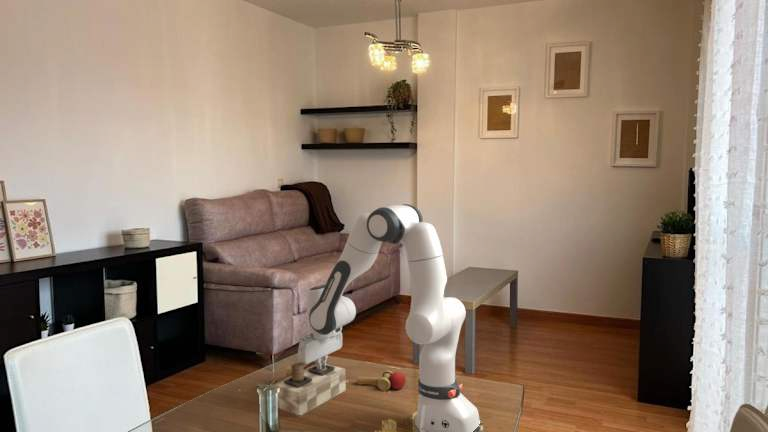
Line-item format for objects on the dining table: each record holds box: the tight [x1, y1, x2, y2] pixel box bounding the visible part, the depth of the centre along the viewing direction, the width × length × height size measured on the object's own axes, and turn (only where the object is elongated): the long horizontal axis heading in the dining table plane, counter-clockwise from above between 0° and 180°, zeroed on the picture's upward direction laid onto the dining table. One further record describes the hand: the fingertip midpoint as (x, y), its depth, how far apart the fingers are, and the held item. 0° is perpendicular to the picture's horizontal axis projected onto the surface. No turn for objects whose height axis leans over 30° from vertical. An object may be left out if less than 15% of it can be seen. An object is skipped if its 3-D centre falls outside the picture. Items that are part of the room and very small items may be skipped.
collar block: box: [272, 363, 347, 416], centre depth 199 cm, size 12×24×9 cm, turn 145°
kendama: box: [356, 370, 407, 391], centre depth 209 cm, size 8×6×18 cm
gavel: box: [285, 361, 316, 379], centre depth 223 cm, size 21×5×10 cm
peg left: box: [291, 362, 305, 383], centre depth 194 cm, size 4×4×8 cm
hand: (321, 368), depth 204 cm, fingers closed, pressing on peg right
